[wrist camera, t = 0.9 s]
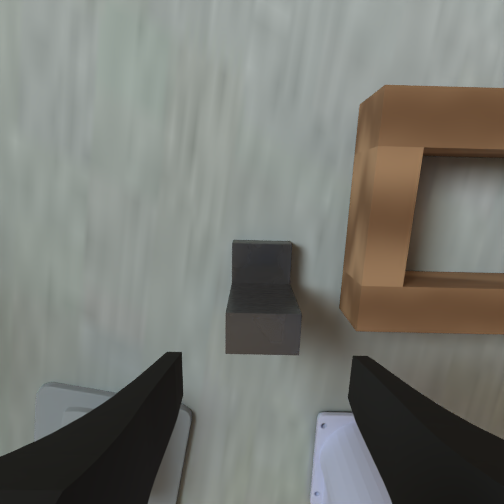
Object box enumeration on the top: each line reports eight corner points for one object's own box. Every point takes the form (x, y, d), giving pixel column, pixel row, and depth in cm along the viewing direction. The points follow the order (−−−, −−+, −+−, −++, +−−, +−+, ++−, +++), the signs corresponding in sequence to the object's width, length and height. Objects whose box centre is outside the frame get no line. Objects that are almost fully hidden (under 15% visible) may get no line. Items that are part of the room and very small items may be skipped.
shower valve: (184, 432, 17) (154, 598, 21) (200, 375, 23) (174, 514, 26) (-19, 398, 17) (-17, 574, 20) (46, 348, 22) (39, 493, 25)
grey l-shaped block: (285, 309, 21) (299, 355, 15) (232, 307, 21) (225, 353, 15) (289, 241, 20) (305, 263, 14) (233, 239, 20) (225, 261, 14)
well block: (550, 312, 21) (608, 336, 18) (339, 308, 21) (356, 331, 18) (607, 111, 18) (689, 93, 15) (359, 104, 18) (385, 85, 14)
